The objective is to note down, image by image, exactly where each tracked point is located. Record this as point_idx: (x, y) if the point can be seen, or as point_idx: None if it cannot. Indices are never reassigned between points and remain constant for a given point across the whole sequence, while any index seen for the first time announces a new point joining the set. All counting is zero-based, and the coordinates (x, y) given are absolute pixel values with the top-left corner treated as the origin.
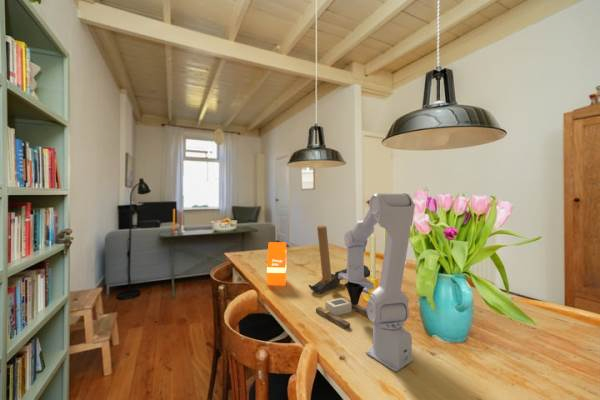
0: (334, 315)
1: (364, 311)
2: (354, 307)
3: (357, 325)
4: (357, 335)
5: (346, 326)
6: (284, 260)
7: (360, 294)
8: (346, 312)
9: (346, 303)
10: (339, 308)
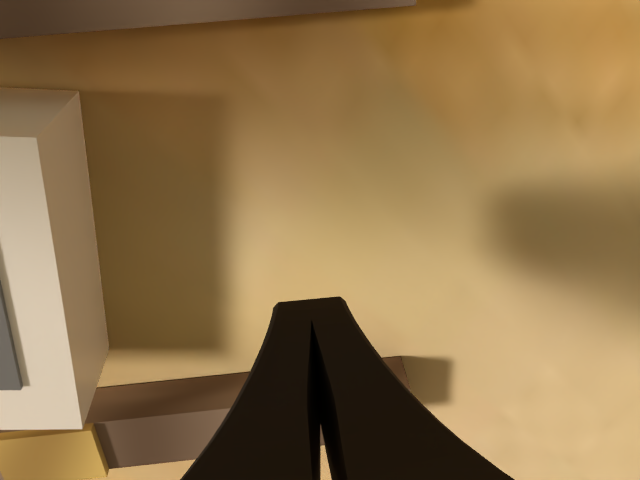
0: (185, 422)
1: (269, 14)
2: (48, 31)
3: (414, 271)
4: (532, 377)
5: None
6: None
7: (416, 410)
8: (87, 180)
9: (31, 229)
10: (81, 331)
